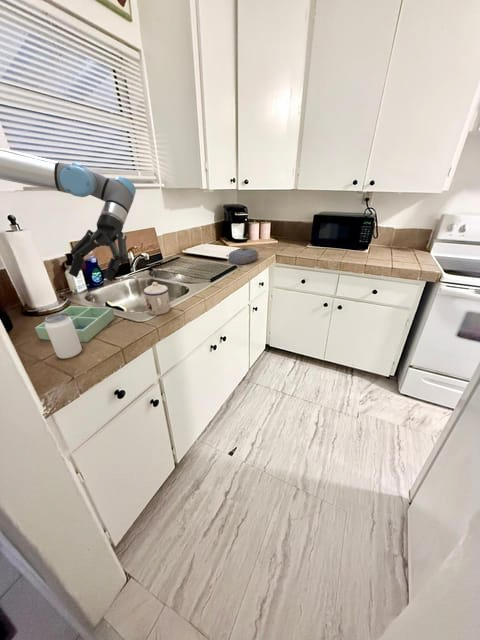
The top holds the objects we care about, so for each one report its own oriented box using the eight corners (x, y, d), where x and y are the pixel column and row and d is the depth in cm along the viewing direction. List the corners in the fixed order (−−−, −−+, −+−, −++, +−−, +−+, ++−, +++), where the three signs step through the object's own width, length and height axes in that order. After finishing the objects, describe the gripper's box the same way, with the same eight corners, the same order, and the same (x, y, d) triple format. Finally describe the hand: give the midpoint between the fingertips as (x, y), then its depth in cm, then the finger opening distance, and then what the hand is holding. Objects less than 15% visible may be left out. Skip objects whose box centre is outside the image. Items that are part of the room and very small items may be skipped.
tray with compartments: (39, 339, 85) (34, 327, 83) (73, 316, 99) (70, 305, 97) (87, 342, 83) (83, 330, 81) (114, 318, 98) (112, 307, 96)
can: (54, 353, 78) (40, 317, 72) (78, 344, 82) (66, 310, 76) (60, 362, 74) (45, 325, 68) (85, 353, 78) (73, 317, 72)
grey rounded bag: (243, 266, 157) (263, 259, 171) (243, 252, 153) (263, 247, 167) (225, 262, 166) (245, 256, 179) (225, 248, 162) (245, 243, 175)
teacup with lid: (146, 307, 106) (141, 280, 100) (168, 304, 109) (165, 277, 103) (149, 320, 96) (144, 291, 90) (174, 316, 99) (170, 287, 94)
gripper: (150, 229, 88) (130, 286, 82) (90, 226, 94) (68, 279, 88) (137, 213, 81) (115, 274, 75) (73, 211, 87) (48, 268, 81)
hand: (90, 277), depth 82 cm, fingers open, 13 cm apart
